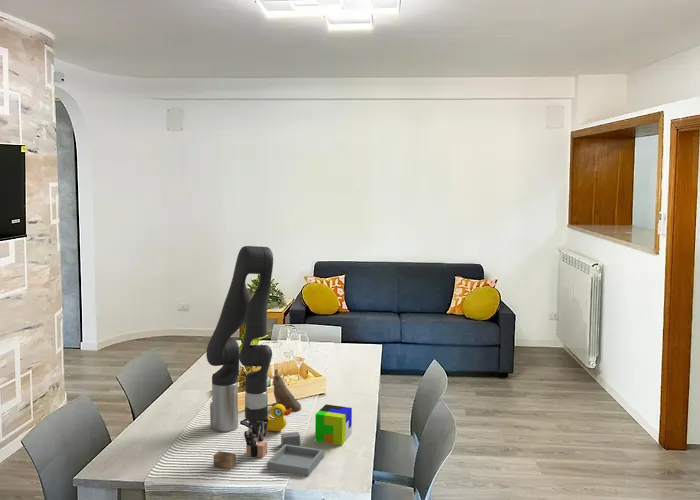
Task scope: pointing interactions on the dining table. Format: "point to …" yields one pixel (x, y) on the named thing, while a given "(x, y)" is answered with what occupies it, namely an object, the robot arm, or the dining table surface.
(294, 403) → the worn brown figurine
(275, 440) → the dining table surface
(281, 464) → the slate tray
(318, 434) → the puzzle toy
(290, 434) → the charcoal brick
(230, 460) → the walnut brick
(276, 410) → the duckling
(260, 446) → the terracotta brick
